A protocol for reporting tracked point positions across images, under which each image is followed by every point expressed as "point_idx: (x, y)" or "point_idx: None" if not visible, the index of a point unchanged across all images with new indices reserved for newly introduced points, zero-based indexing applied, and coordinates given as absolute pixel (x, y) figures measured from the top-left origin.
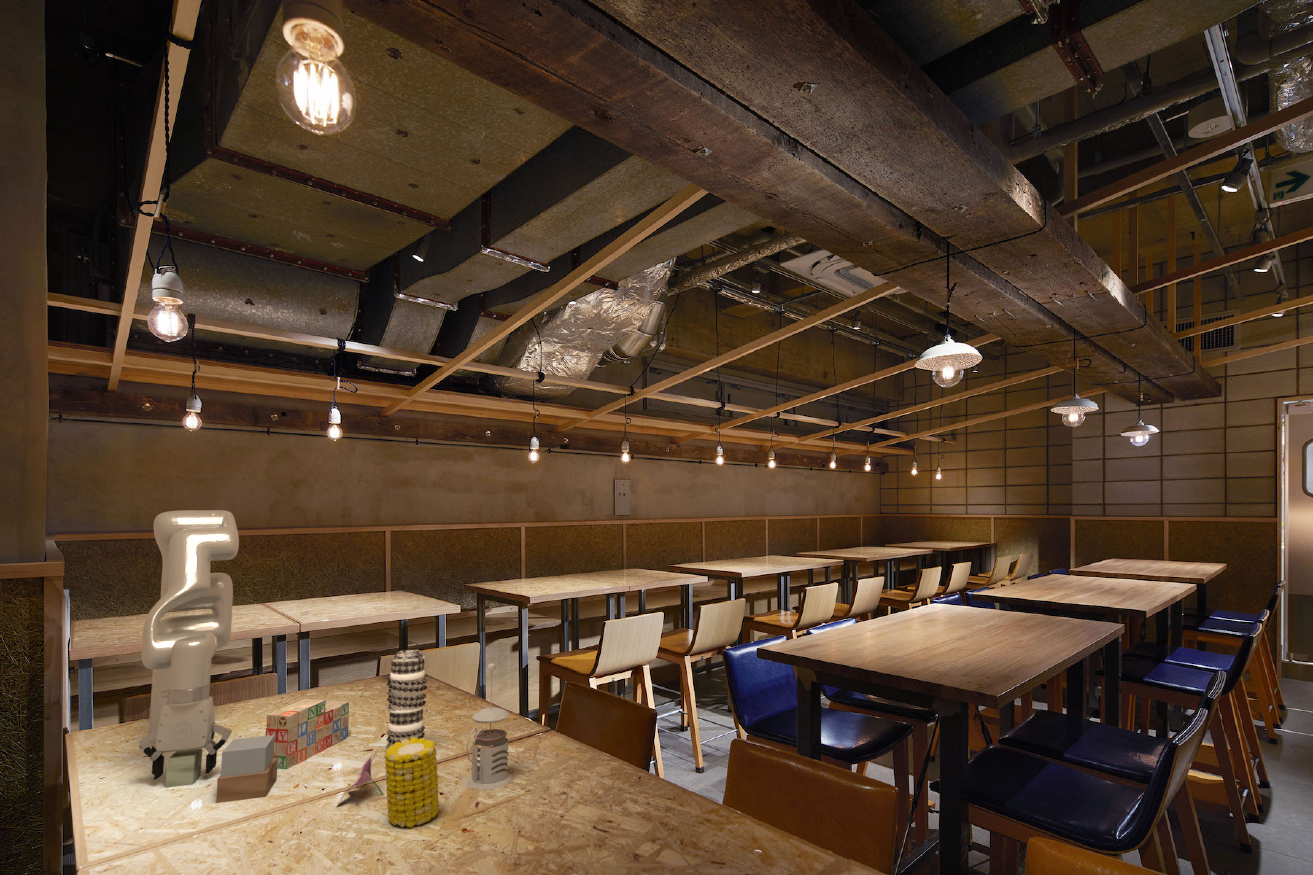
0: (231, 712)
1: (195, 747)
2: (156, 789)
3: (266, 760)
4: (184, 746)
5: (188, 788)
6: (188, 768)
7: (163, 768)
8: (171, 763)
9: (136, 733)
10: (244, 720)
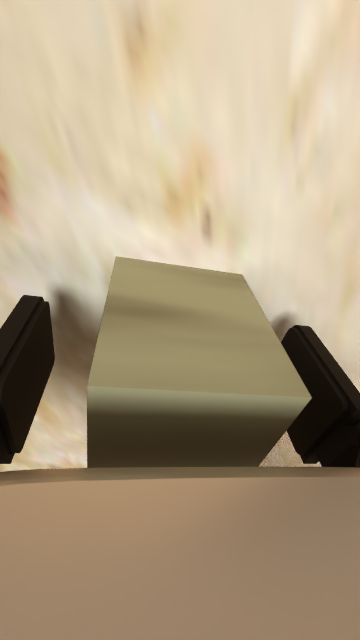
0: None
1: (46, 485)
2: (281, 269)
3: None
4: (203, 519)
5: (123, 196)
6: (140, 315)
7: None
8: (265, 363)
9: None
10: None
